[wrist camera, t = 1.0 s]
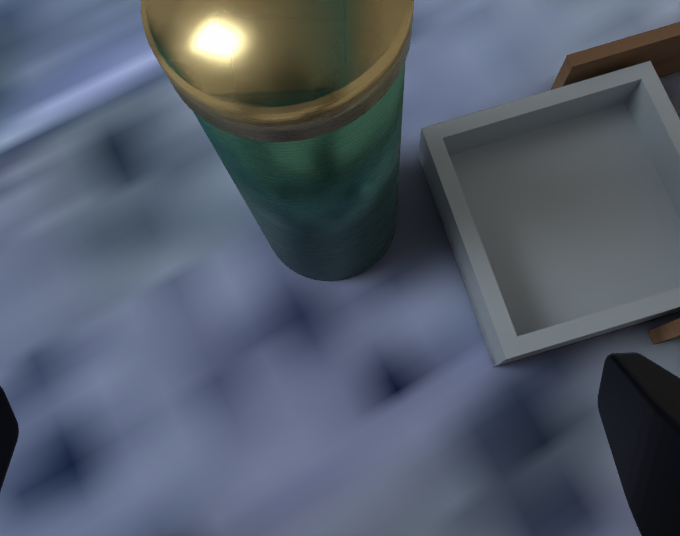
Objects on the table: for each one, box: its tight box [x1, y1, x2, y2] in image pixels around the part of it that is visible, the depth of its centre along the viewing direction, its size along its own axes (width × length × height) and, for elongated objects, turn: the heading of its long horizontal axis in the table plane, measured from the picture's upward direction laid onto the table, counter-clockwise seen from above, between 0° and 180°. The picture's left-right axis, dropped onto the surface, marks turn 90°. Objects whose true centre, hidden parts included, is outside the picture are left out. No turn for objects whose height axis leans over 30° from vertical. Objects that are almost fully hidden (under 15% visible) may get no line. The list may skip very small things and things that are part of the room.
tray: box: [418, 61, 680, 367], centre depth 23 cm, size 9×9×2 cm
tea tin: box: [141, 0, 414, 281], centre depth 18 cm, size 5×5×13 cm
